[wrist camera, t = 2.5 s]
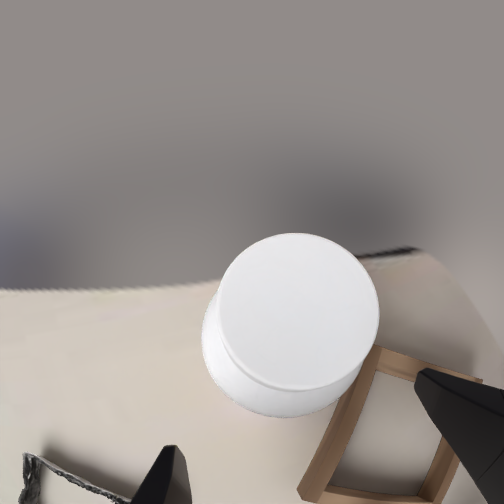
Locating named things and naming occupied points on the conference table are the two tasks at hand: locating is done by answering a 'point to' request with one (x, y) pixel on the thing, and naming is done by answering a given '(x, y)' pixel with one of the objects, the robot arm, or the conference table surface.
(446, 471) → the brown wooden square frame
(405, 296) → the conference table surface
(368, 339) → the supplement bottle
